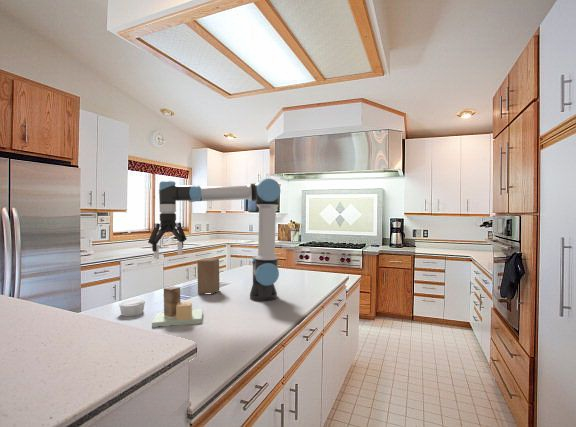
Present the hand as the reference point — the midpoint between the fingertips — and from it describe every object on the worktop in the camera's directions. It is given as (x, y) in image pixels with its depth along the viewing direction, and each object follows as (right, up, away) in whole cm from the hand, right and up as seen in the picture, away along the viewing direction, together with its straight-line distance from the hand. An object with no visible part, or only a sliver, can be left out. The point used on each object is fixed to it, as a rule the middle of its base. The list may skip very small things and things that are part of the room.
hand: (168, 256), depth 156 cm
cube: (+13, -25, -16) cm, 32 cm away
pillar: (+6, -25, -12) cm, 28 cm away
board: (+10, -27, -13) cm, 31 cm away
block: (+11, -27, +35) cm, 45 cm away
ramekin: (-16, -27, -3) cm, 32 cm away
